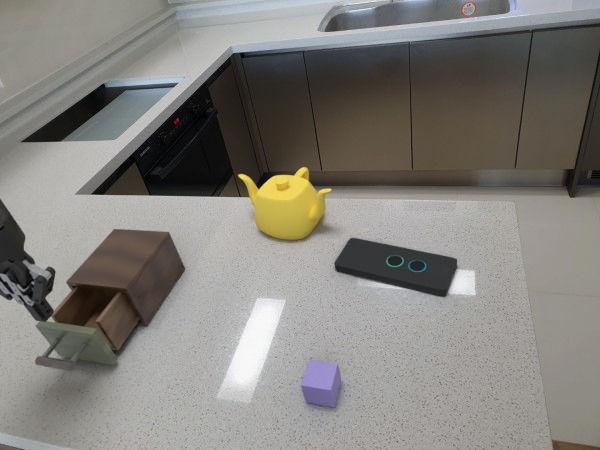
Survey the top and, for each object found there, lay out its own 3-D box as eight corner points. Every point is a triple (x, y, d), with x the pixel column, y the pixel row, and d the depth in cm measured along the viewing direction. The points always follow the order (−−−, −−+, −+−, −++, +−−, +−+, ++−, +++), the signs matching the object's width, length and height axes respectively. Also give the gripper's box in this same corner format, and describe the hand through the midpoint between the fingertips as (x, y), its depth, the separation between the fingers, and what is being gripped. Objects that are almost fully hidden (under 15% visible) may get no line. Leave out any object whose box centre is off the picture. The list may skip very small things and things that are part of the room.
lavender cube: (334, 407, 63) (330, 390, 60) (305, 402, 64) (300, 385, 61) (341, 380, 66) (337, 363, 63) (313, 376, 67) (308, 359, 65)
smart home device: (445, 291, 73) (332, 264, 82) (445, 298, 74) (333, 271, 84) (458, 257, 78) (350, 235, 88) (458, 264, 80) (351, 242, 89)
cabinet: (147, 326, 81) (125, 288, 75) (90, 318, 85) (65, 282, 79) (185, 268, 91) (169, 231, 86) (133, 264, 96) (114, 228, 90)
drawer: (96, 391, 71) (72, 360, 66) (39, 380, 74) (13, 350, 70) (156, 302, 84) (139, 271, 79) (105, 296, 88) (87, 267, 83)
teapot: (356, 206, 98) (351, 162, 92) (323, 252, 88) (314, 207, 82) (271, 190, 109) (261, 150, 102) (233, 230, 99) (219, 189, 92)
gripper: (-89, 240, 56) (-8, 332, 66) (-9, 245, 51) (65, 343, 62) (-39, 203, 61) (29, 294, 71) (37, 206, 57) (98, 301, 67)
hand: (46, 316), depth 67 cm, fingers closed
